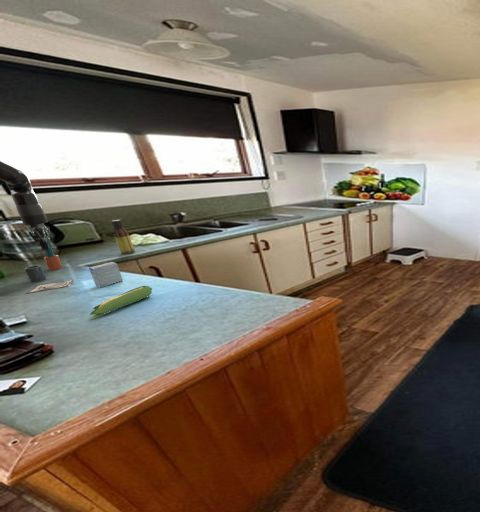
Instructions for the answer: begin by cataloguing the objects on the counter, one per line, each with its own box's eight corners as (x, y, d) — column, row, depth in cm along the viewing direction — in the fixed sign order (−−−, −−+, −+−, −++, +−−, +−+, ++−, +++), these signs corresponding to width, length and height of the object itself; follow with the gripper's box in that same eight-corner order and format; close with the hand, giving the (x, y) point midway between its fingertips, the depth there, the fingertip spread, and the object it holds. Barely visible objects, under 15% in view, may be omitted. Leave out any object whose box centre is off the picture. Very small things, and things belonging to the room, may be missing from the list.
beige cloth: (26, 294, 110) (25, 293, 109) (36, 287, 117) (36, 285, 117) (68, 287, 116) (67, 286, 116) (76, 280, 123) (75, 279, 123)
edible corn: (157, 295, 108) (154, 284, 106) (93, 321, 90) (88, 309, 88) (148, 293, 109) (145, 283, 108) (84, 319, 91) (78, 307, 90)
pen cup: (47, 271, 134) (41, 258, 132) (51, 268, 138) (46, 255, 135) (61, 269, 136) (55, 256, 134) (64, 267, 140) (59, 254, 138)
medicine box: (118, 279, 124) (112, 261, 121) (123, 281, 122) (117, 263, 119) (95, 286, 117) (88, 267, 114) (100, 288, 115) (92, 269, 112)
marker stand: (29, 284, 120) (22, 269, 117) (34, 280, 123) (27, 266, 121) (44, 281, 122) (37, 267, 120) (49, 278, 126) (42, 264, 123)
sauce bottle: (129, 250, 165) (118, 218, 159) (137, 251, 164) (127, 219, 158) (117, 254, 159) (106, 221, 153) (126, 254, 158) (114, 221, 152)
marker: (49, 264, 135) (38, 239, 130) (52, 263, 137) (41, 238, 132) (57, 263, 136) (45, 238, 132) (58, 262, 138) (48, 237, 134)
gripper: (27, 212, 132) (42, 246, 137) (11, 216, 120) (28, 253, 126) (50, 210, 135) (64, 244, 141) (36, 215, 124) (52, 250, 130)
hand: (47, 248), depth 133 cm, fingers closed on marker, 2 cm apart
